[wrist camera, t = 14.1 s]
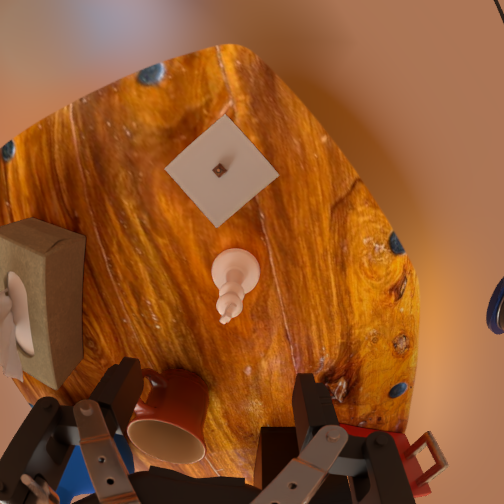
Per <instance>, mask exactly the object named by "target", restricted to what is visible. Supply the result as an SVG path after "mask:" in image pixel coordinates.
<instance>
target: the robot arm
mask: <svg viewBox="0 0 504 504" xmlns="http://www.w3.org/2000/svg"><path fill="white" fill-rule="evenodd" d="M494 2H495V4H496V6H497V8H498V11H499V13H500V16H501V18H502V20H503V23H504V14H503V11H502V9H501V7H500V4H499V2H498V0H494ZM496 325H497V326H498V327H499V328H500V329H501V330H503V331H504V294H503V296H502V298H501V300H500V302H499V305H498V308H497V312H496ZM143 387H144V381H143V376H142V371H141V365H140V361H139V359H136V358H130V357H124V358H123V359H122V361H121V362H120V364H119V365H118V364H114V365H113V366H111V367H110V368H108V370H107V371H106V373H105V374H104V377H102V379H101V380H100V382H99V383H98V385H97V386H96V388H95V389H94V391H93V392H92V394H91V396H90V397H89V399H84V400H81V401H79V402H77V403H76V404H75V406H62V405H59V403H58V401H57V400H56V399H55V398H53V397H43V398H41V399H39V400H38V401H37V402H36V404H35V405H34V407H33V408H32V410H31V411H30V413H29V414H28V416H27V417H26V419H25V420H24V422H23V423H22V425H21V426H20V428H19V430H18V431H17V433H16V434H15V436H14V437H13V439H12V441H11V442H10V444H9V446H8V448H7V449H6V451H5V452H4V454H3V456H2V458H1V459H0V503H1V504H60V499H59V496H58V494H57V493H56V490H57V488H58V485H59V483H60V480H61V478H62V475H63V473H64V471H65V468H66V466H67V464H68V461H69V459H70V457H71V455H72V452H73V450H74V448H75V446H76V445H80V448H81V452H82V455H83V458H84V461H85V464H86V467H87V470H88V473H89V476H90V479H91V482H92V484H93V487H94V489H95V493H93V494H91V495H89V496H87V497H85V498H83V499H81V500H78V501H76V502H74V503H72V504H308V502H309V501H310V500H311V498H312V497H313V496H314V494H315V493H316V492H317V490H318V489H319V488H320V486H321V485H322V483H323V482H324V481H325V479H326V478H327V476H328V475H329V473H330V474H337V475H344V476H348V479H349V484H350V490H351V496H352V502H353V504H416V503H415V500H414V496H413V493H412V490H411V487H410V484H409V481H408V478H407V475H406V472H405V469H404V466H403V463H402V460H401V457H400V455H399V452H398V449H397V446H396V444H395V441H394V439H393V437H392V436H391V435H390V434H388V433H386V432H383V431H375V432H372V433H370V434H369V435H368V436H367V437H359V436H353V435H350V434H348V433H347V432H346V430H345V429H343V428H342V427H340V425H339V422H338V419H337V416H336V412H335V409H334V406H333V404H332V400H331V398H330V397H331V396H330V393H329V390H328V388H327V387H326V386H325V385H324V384H323V383H315V380H314V376H313V374H312V373H298V374H297V376H296V381H295V386H294V391H293V396H292V407H293V414H294V420H295V427H296V434H297V441H298V448H299V456H298V457H297V458H293V459H292V460H291V461H290V462H289V463H288V464H287V466H286V467H285V468H284V469H283V470H282V471H281V472H280V473H279V474H278V475H277V477H276V478H275V479H274V480H273V481H272V482H271V483H270V484H269V485H268V486H267V487H266V488H265V489H264V490H261V489H259V488H257V487H255V486H252V485H249V484H245V478H236V477H222V476H220V477H210V478H192V477H190V476H187V475H184V474H182V473H179V472H176V471H174V470H170V469H165V468H160V467H155V466H150V469H149V471H140V472H135V473H132V474H129V472H128V470H127V468H126V466H125V464H124V462H123V460H122V458H121V455H120V453H119V451H118V448H117V446H116V444H115V441H114V439H113V437H114V435H115V433H116V434H120V435H123V434H124V432H125V429H126V427H127V425H128V422H129V420H130V418H131V416H132V413H133V411H134V409H135V407H136V405H137V402H138V400H139V398H140V396H141V394H142V391H143Z"/></svg>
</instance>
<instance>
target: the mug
mask: <svg viewBox="0 0 504 504" xmlns="http://www.w3.org/2000/svg"><path fill="white" fill-rule="evenodd" d="M141 371H142V376H143V378H144V377H146V378H147V379H148V380H149V381H150V383H151V384H152V387H151V390H150V392H149V394H148V397H147V400H146V403H144V402H143V401H142V400H141V398H139V400H138V402H137V405H136V407H135V409H134V412H135V413H136V417H135V418H134V419H133V420H132V421H131V422H130V423H129V424H128V427H127V434H128V437H129V439H130V440H131V442H132V443H133V444H134V445H135V446H136V447H137V448H138V449H140V450H141V451H142V452H144V453H145V454H147V455H149V456H151V457H153V458H155V459H158V460H161V461H164V462H168V463H173V464H192V463H196V462H198V461H200V460H202V459H203V458H204V457H205V455H206V451H207V449H206V444H205V440H204V434H203V428H204V423H205V419H206V415H207V410H208V406H209V390H208V387H207V385H206V383H205V382H204V380H203V379H202V378H201V377H199V376H198V375H196V374H195V373H193V372H191V371H188V370H185V369H180V368H173V369H168V370H165V371H163V372H162V373H158V372H156V371H154V370H153V369H150V368H144V369H141Z"/></svg>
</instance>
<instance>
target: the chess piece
mask: <svg viewBox="0 0 504 504" xmlns="http://www.w3.org/2000/svg"><path fill="white" fill-rule="evenodd" d="M259 277H260V267H259V263H258V261H257V260H256V258H255V257H254V256H253V255H252V254H251V253H249V252H248V251H246V250H243V249H238V248H232V249H228V250H225V251H223V252H222V253H220V254H219V255H218V256H217V257H216V259H215V260H214V262H213V265H212V278H213V281H214V283H215V285H216V286H217V287H218V288H219V289H220V290H219V296H220V297H219V299H218V300H217V304H216V307H217V310H218V312H219V313H220V314H221V315H222V317H221V318H220V321H219V322H221V323H222V324H224V325H225V323H226V322H229V321H230V319H231V318H233V317H236V316H238V315H239V314H240V313H241V311H242V309H243V304H242V300H243V298H244V295H245V294H246V293H248V292H250V291H251V290H252V289H253V288H254V287H255V286H256V284H257V282H258V280H259Z"/></svg>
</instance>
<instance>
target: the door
mask: <svg viewBox="0 0 504 504" xmlns="http://www.w3.org/2000/svg"><path fill="white" fill-rule="evenodd" d="M339 425H340V427H342V428H343V429H345V430H346V432H347V433H348V434H350V435H353V436H359V437H367V436H368V435H369V434H370V433H372V432H375V431H380V430H374V429H367V428H362V427H356V426H351V425H346V424H341V423H340V424H339ZM383 432H386V433H388V434H390V435H391V436H392V437H393V439H394V441H395V444H396V446H397V449H398V452H399V455H400V457H401V460H402V463H403V466H404V469H405V472H406V475H407V478H408V481H409V484H410V487H411V490H412V493H413V496H414V498H416V497H422V496H427V495H428V494H430V493H431V490H430V487H429V485H428V482H430V481H431V480H432V479H434V478H435V477H436V476H437V475H439V474H440V473H441V472H443V471H444V470H445V469H446V468H447V467H448V466H449V464H448V462H447V460H446V458H445V456H444V454H443V452H442V451H441V449H440V447H439V445H438V443H437V441H436V440H435V438H434V436H433V434H432V433H431V431H427V432H426V433H424V434H423V435H422V436H421V437H420V438H419V439H418V440H417V441H416V442H415V443H414V444H412V445H411V446H410V444H409V442H408V439H407V437H406V435H405V434H403V433H395V432H387V431H383ZM426 446H427V447H428V448H429V450H430V452H431V454H432V456H433V458H434V460H435V462H436V464H435V465H434V466H432V467H431V468H430V469H429V470H427V471H426V472H425V473H424V474H423V472H422V470H421V467H420V465H419V463H418V461H417V459H416V455H417V454H418V453H419V452H420V451H421V450H422V449H424V448H425V447H426Z"/></svg>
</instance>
